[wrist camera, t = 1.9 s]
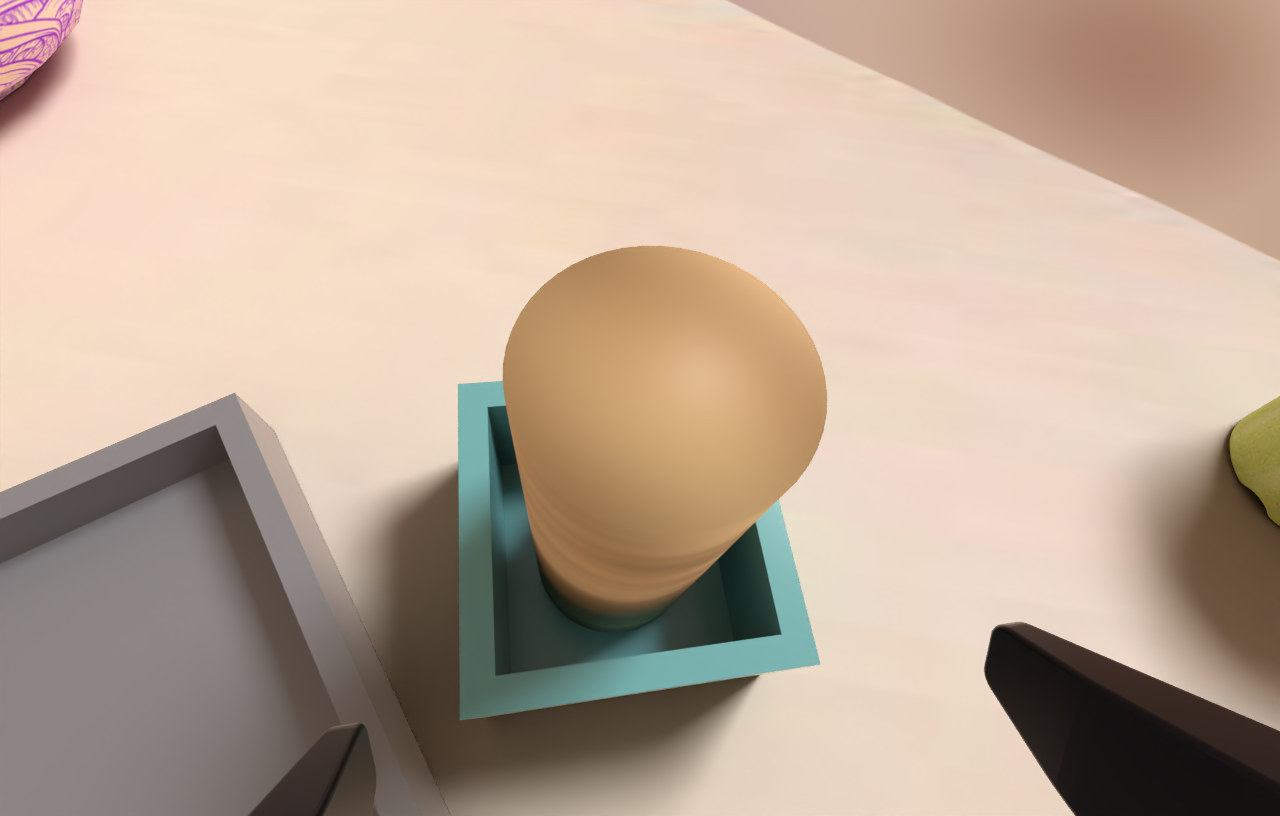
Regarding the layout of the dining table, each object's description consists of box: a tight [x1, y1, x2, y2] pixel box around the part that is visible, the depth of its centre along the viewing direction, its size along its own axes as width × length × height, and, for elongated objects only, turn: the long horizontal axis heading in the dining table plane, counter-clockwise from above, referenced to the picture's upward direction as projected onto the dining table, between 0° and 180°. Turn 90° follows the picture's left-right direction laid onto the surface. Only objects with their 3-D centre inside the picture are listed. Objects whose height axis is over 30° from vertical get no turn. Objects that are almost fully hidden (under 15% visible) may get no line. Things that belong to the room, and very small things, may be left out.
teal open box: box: [458, 381, 820, 720], centre depth 18 cm, size 9×9×5 cm
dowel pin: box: [503, 246, 827, 633], centre depth 14 cm, size 5×5×12 cm
